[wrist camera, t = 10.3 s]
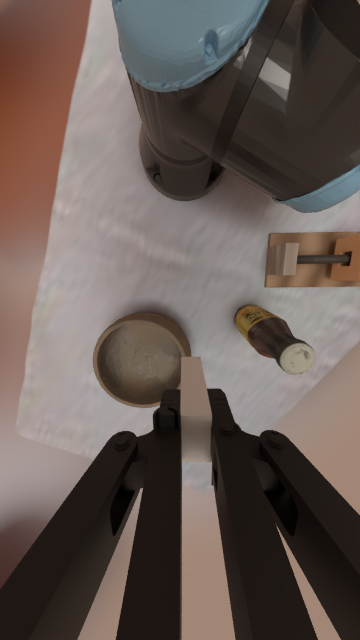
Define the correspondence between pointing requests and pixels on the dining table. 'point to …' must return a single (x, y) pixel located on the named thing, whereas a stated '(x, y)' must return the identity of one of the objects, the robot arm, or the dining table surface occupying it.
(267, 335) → the sauce bottle
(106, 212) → the dining table surface
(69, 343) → the dining table surface
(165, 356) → the bowl
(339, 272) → the sleeve
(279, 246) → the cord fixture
